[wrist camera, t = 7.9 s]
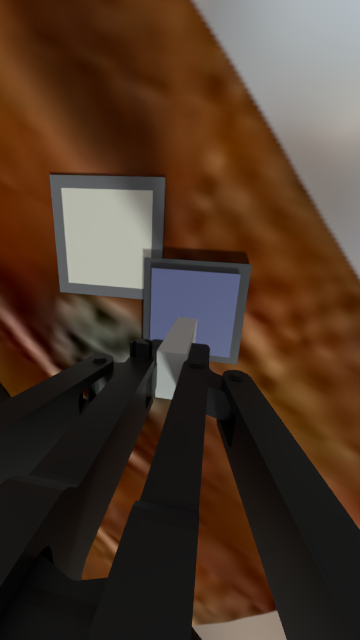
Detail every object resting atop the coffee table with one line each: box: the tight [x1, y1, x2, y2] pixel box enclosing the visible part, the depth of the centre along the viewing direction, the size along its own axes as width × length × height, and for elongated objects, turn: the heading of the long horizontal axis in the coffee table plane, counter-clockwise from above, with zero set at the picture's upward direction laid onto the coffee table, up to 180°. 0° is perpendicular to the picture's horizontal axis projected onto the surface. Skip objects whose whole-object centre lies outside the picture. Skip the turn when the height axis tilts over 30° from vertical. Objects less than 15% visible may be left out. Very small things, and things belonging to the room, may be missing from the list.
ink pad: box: [143, 257, 252, 364], centre depth 25 cm, size 11×11×2 cm
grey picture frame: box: [50, 175, 166, 299], centre depth 25 cm, size 12×12×1 cm
